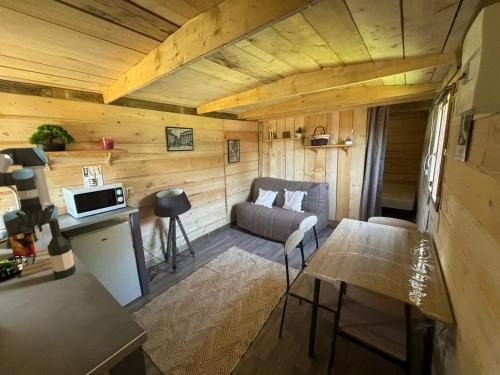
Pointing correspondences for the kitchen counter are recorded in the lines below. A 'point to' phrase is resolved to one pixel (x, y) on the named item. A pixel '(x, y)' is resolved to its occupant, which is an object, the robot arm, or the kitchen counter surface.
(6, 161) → the robot arm
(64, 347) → the kitchen counter surface
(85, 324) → the kitchen counter surface
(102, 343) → the kitchen counter surface
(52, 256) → the wine bottle
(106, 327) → the kitchen counter surface
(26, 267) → the floorboard
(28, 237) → the mug
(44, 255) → the plank
